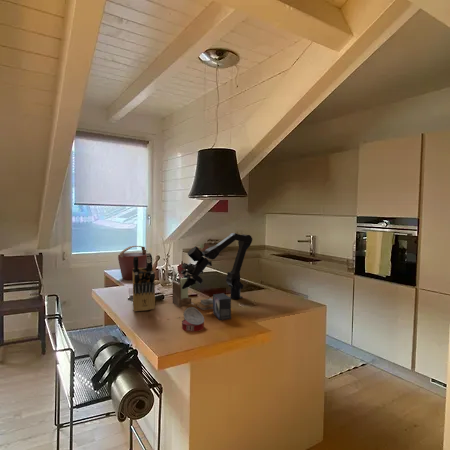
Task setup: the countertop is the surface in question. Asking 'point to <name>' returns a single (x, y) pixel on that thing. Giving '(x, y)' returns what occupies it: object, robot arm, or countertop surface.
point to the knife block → (143, 285)
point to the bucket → (131, 262)
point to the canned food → (192, 320)
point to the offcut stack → (205, 304)
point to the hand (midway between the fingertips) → (181, 288)
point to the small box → (222, 306)
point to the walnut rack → (177, 296)
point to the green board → (183, 291)
